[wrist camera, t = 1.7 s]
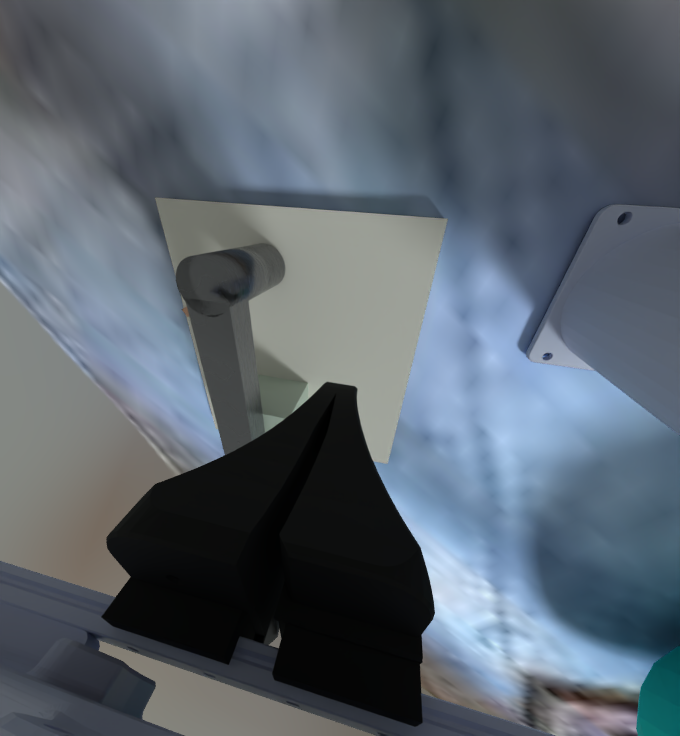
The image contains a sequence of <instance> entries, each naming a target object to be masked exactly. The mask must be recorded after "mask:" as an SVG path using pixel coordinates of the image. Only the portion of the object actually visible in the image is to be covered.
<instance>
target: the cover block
mask: <svg viewBox="0 0 680 736" xmlns="http://www.w3.org/2000/svg"><path fill="white" fill-rule="evenodd" d="M258 381H259V388H260V396H261V404H262V412H263V420H264V428H265V432H267V431H268V430H270V429H271V428H273V427H274V426H276V425H277V424H279V423H280V422H281V421H283V420H284V419H285V418H286V417H288V416H289V415H290V414H291V413H293V412H294V411H295V410H296V409H298V408H299V407H300V406H301V405H302V404H303V403H304V402H306V401H307V400H308V383H305V382H299V381H293V380H287V379H281V378H276V377H270V376H264V375H258Z"/></svg>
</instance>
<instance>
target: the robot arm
mask: <svg viewBox="0 0 680 736" xmlns="http://www.w3.org/2000/svg"><path fill="white" fill-rule="evenodd" d="M623 213H625V214H626V217H625V219H624V221H623V222H622V223H620V224H618V223H617V220H618V217H619V216H620V215H621V214H623ZM545 353H549V355H548V356H547V357H542V356H543V355H544V354H545ZM526 357H527V358H528V359H529V360H530V361H531V362H535V363H542V364H550V365H557V366H564V367H571V368H578V369H585V370H592V371H597V372H598V373H599V374H601V375H602V376H603V377H604V378H606V379H607V380H608V381H610V382H611V383H612V384H613V385H615V386H616V387H617V388H619V389H620V390H621V391H622V392H624V393H625V394H626V395H628V396H629V397H630V398H631V399H633V400H634V401H635V402H637V403H638V404H639V405H641V406H642V407H643V408H644V409H646V410H647V411H648V412H650V413H651V414H652V415H653V416H655V417H656V418H657V419H659V420H660V421H661V422H662V423H664V424H665V425H666V426H668V427H669V428H670V429H672V430H673V431H674V432H675V433H677V434H678V435H679V436H680V208H670V207H653V206H637V205H620V204H617V205H608V206H606V207H604V208H602V209H601V210H600V211H599V212H598V213H597V214H596V216H595V217H594V219H593V221H592V223H591V225H590V227H589V229H588V231H587V233H586V235H585V237H584V239H583V241H582V243H581V245H580V247H579V249H578V251H577V253H576V255H575V257H574V259H573V261H572V263H571V265H570V267H569V269H568V270H567V272H566V274H565V276H564V278H563V280H562V282H561V284H560V286H559V288H558V290H557V292H556V294H555V296H554V298H553V300H552V302H551V304H550V306H549V308H548V310H547V312H546V314H545V316H544V318H543V320H542V322H541V324H540V326H539V328H538V330H537V332H536V334H535V336H534V338H533V340H532V342H531V344H530V346H529V348H528V350H527V352H526ZM357 391H358V389H357V388H356V386H351V385H345V384H338V383H332V382H326V383H324V384H323V385H322V386H321V387H320V388H319V389H318V390H317V391H316V392H315V393H314V394H313V395H312V396H311V397H310V398H309V399H308V400H307V401H306V402H304V403H303V404H302V405H301V406H300V407H299V408H298V409H296V410H295V411H294V412H293V413H291V414H290V415H289V416H288V417H286V418H285V419H284V420H283V421H281V422H280V423H279V424H277V425H276V426H274V427H273V428H271V429H270V430H268V431H267V432H265V433H264V434H262V435H261V436H259V437H258V438H256V439H254V440H252V441H251V442H249V443H247V444H245V445H244V446H242V447H240V448H238V449H236V450H235V451H233V452H231V453H229V454H227V455H225V456H223V457H220V458H218V459H216V460H214V461H212V462H210V463H207V464H205V465H203V466H201V467H198V468H196V469H193V470H191V471H188V472H186V473H183V474H181V475H178V476H175V477H173V478H170V479H168V480H165V481H162V482H160V483H157V484H155V485H154V486H153V487H152V488H151V489H150V490H149V491H148V492H147V493H146V494H145V495H144V496H143V497H142V498H141V500H140V501H139V502H138V503H137V504H136V505H135V506H134V507H133V508H132V509H131V510H130V511H129V513H128V514H127V515H126V516H125V517H124V518H123V519H122V521H121V522H120V523H119V524H118V525H117V526H116V527H115V528H114V530H113V531H112V532H111V533H110V534H109V535H108V536H107V548H108V550H109V551H110V553H111V554H112V555H113V557H114V558H115V559H116V560H117V561H118V562H119V564H120V565H121V566H122V567H123V568H124V569H125V570H126V572H127V573H128V574H129V575H130V576H131V577H130V579H129V580H128V582H127V583H126V584H125V586H124V587H123V588H122V589H121V591H120V592H119V593H118V595H117V596H116V597H113V596H110V595H107V594H104V593H101V592H97V591H94V590H91V589H88V588H85V587H81V586H78V585H75V584H72V583H68V582H66V581H62V580H59V579H56V578H53V577H49V576H46V575H43V574H40V573H37V572H33V571H30V570H27V569H24V568H21V567H18V566H15V565H12V564H8V563H5V562H2V561H0V736H184V735H181V734H179V733H176V732H173V731H171V730H168V729H165V728H163V727H160V726H158V725H155V724H152V723H150V722H147V721H145V720H143V719H142V715H143V711H144V709H145V707H146V705H147V703H148V701H149V699H150V697H151V695H152V693H153V691H154V689H155V687H156V685H155V681H153V680H151V679H149V678H147V677H145V676H143V675H141V674H140V673H138V672H136V671H135V670H133V669H132V668H130V667H129V666H128V665H127V664H125V663H124V662H123V661H121V660H119V659H116V658H114V657H112V656H109V655H107V654H105V653H102V652H100V651H98V650H99V647H100V645H99V640H100V641H103V642H106V643H109V644H112V645H114V646H118V647H120V648H123V649H126V650H129V651H132V652H135V653H138V654H141V655H144V656H146V657H149V658H152V659H155V660H158V661H161V662H164V663H167V664H170V665H173V666H176V667H178V668H181V669H184V670H187V671H190V672H193V673H196V674H199V675H202V676H205V677H208V678H210V679H213V680H217V681H220V682H222V683H225V684H228V685H231V686H234V687H237V688H240V689H243V690H245V691H249V692H252V693H254V694H257V695H260V696H263V697H266V698H269V699H272V700H274V701H278V702H280V703H283V704H286V705H289V706H292V707H295V708H298V709H301V710H304V711H307V712H310V713H313V714H315V715H318V716H321V717H324V718H327V719H330V720H333V721H336V722H338V723H341V724H344V725H348V726H351V727H353V728H356V729H359V730H362V731H365V732H368V733H371V734H373V735H376V736H555V735H552V734H549V733H546V732H543V731H539V730H536V729H533V728H530V727H527V726H523V725H520V724H517V723H514V722H511V721H508V720H504V719H501V718H498V717H495V716H492V715H489V714H485V713H482V712H479V711H476V710H473V709H469V708H466V707H463V706H460V705H457V704H454V703H450V702H447V701H444V700H441V699H438V698H434V697H431V696H428V695H425V694H422V693H421V679H420V664H421V663H422V659H423V654H422V636H421V634H422V633H423V632H424V630H425V629H426V628H427V626H428V625H429V624H430V623H431V621H432V620H433V617H434V614H435V610H434V600H433V595H432V589H431V585H430V580H429V576H428V572H427V568H426V565H425V561H424V558H423V555H422V551H421V548H420V546H419V544H418V543H417V541H416V540H415V538H414V537H413V535H412V534H411V532H410V530H409V529H408V527H407V526H406V524H405V522H404V521H403V519H402V517H401V516H400V514H399V512H398V510H397V509H396V507H395V505H394V503H393V501H392V500H391V498H390V496H389V494H388V492H387V490H386V488H385V486H384V484H383V482H382V480H381V478H380V476H379V474H378V472H377V469H376V467H375V465H374V462H373V460H372V457H371V455H370V452H369V449H368V446H367V444H366V440H365V437H364V434H363V430H362V426H361V422H360V418H359V413H358V406H357ZM279 628H280V633H281V638H282V639H281V643H280V646H279V648H275V647H272V646H269V644H270V643H271V642H273V640H275V639H276V638H277V637H278V632H279Z"/></svg>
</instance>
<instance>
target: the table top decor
mask: <svg viewBox="0 0 680 736" xmlns="http://www.w3.org/2000/svg"><path fill="white" fill-rule="evenodd" d="M636 729H637V733H638V736H680V646H678V647H676V648H675V649H673V650H672V651H671V652H669V653H668V654H666V655H665V656H663V657H662V658H660V659H659V660H658V661H656V662H655V663H654V664H653V666H652V668H651V670H650V672H649V673H648V675H647V677H646V679H645V681H644V683H643V684H642V686H641V690H640V696H639V705H638V716H637V727H636Z"/></svg>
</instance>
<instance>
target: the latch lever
mask: <svg viewBox="0 0 680 736" xmlns="http://www.w3.org/2000/svg"><path fill="white" fill-rule="evenodd" d="M284 275H285V263H284V260H283V257H282V256H281V254H280V253H279V251H278V250H277V249H276V248H274V247H273V246H271V245H269V244H265V243H259V244H254V245H248V246H243V247H237V248H232V249H226V250H221V251H215V252H210V253H204V254H199V255H193V256H189V257H186V258H184V259H183V260H182V261H181V262H180V263H179V265H178V267H177V270H176V283H177V287H178V289H179V292H180V294H181V296H182V297H183V299H184V300H185V302H186V305H187V309H188V313H189V317H190V321H191V325H192V329H193V332H194V336H195V340H196V344H197V348H198V352H199V356H200V360H201V364H202V367H203V371H204V375H205V379H206V383H207V387H208V391H209V395H210V398H211V402H212V406H213V410H214V414H215V418H216V422H217V426H218V430H219V433H220V437H221V441H222V445H223V449H224V453H225V455H227V454H229V453H231V452H233V451H235V450H236V449H238V448H240V447H242V446H244V445H245V444H247V443H249V442H251V441H252V440H254V439H256V438H258V437H259V436H261V435H262V434H264V433H265V428H264V420H263V412H262V404H261V396H260V388H259V381H258V373H257V365H256V357H255V349H254V341H253V333H252V325H251V317H250V309H249V300H251V299H253V298H254V297H256V296H258V295H260V294H262V293H263V292H265V291H267V290H269V289H271V288H273V287H274V286H276V285H278V284H279V283H280V282H281V281H282V280H283V278H284Z"/></svg>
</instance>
